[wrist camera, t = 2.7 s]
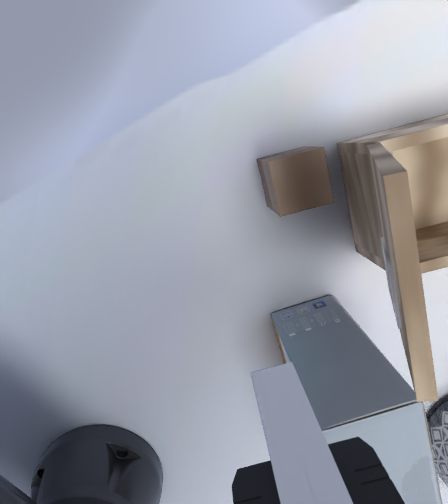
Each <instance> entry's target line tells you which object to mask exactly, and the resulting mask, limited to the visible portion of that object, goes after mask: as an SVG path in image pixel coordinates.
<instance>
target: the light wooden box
mask: <svg viewBox="0 0 448 504" xmlns="http://www.w3.org/2000/svg"><path fill="white" fill-rule="evenodd" d="M379 142H380V143H381V144H382V145H383V146H384V147H385V148H386V149H387V150H388V151H389V152H390V154H391V155H392V156H393V157H394V158H395V159H396V160H397V161H398V162H399V163H400V164H401V165H402V166H403V167H404V168H405V169H406V170H407V173H408V180H409V188H410V195H411V202H412V210H413V217H414V225H415V232H416V239H417V247H418V254H419V262H420V269H421V274H422V273H426V272H429V271H433V270H437V269H441V268H444V267H448V114H445V115H441V116H438V117H434V118H430V119H426V120H423V121H419V122H415V123H411V124H407V125H404V126H400V127H396V128H392V129H389V130H385V131H381V132H377V133H373V134H370V135H366V136H362V137H358V138H355V139H351V140H347V141H343V142H339V143H337V145H338V151H339V156H340V162H341V168H342V173H343V179H344V185H345V190H346V196H347V202H348V207H349V213H350V219H351V224H352V230H353V236H354V242H355V247H356V252H358V253H360V254H361V255H363V256H364V257H366V258H367V259H369V260H370V261H372V262H373V263H375V264H376V265H378V266H379V267H381V268H382V269H384V270H385V271H386V267H385V261H384V254H383V248H382V242H381V233H380V227H379V220H378V214H377V208H376V201H375V195H374V189H373V182H372V176H371V170H370V164H369V157H368V151H367V145H370V144H375V143H379Z"/></svg>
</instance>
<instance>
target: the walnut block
mask: <svg viewBox="0 0 448 504" xmlns="http://www.w3.org/2000/svg"><path fill="white" fill-rule="evenodd" d="M257 163H258V167H259V172H260V176H261V180H262V185H263V189H264V193H265V198H266V202H267V206H268V207H269V208H271V209H272V210H273V211H274V212H275V213H277V214H278V215H279V216H280V217H281V216H285V215H288V214H292V213H296V212H300V211H303V210H307V209H311V208H315V207H319V206H322V205H326V204H330V203H334V200H333V195H332V189H331V184H330V178H329V173H328V168H327V162H326V157H325V151H324V147H301V148H297V149H294V150H290V151H286V152H282V153H279V154H275V155H271V156H267V157H263V158H260V159H257Z"/></svg>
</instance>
